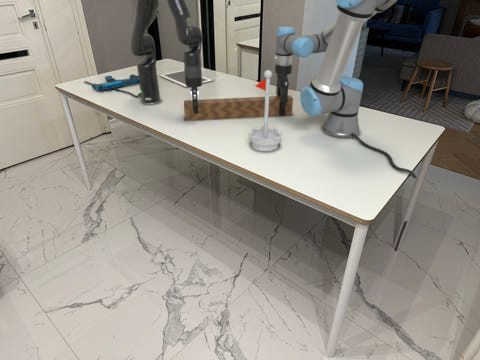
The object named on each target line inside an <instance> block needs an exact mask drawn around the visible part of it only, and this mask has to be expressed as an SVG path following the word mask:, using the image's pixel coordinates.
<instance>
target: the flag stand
mask: <svg viewBox="0 0 480 360" xmlns="http://www.w3.org/2000/svg"><path fill="white" fill-rule="evenodd" d="M263 77H264V79H263V80H262V81H260V82H259V83H257V84H255V85H254V87H256V88H258V89H260V90H264V97H265V111H264V118H263V125H262V126H261V128H259V127H253V128H251V131H249V133H248V139H249V141H250V142H251V147H252V148H253V150H257V151H259V152H260V151H261V152H272V151H275V150H277V149H278V148H279V145H280V144H279V143H280V142H281V141H282V137H283V133H282V131H279V128H277V127H272V129H271V128H269V116H268V110H269V96H270V88H271V87H270V85H271V78H272V77H273V72H272V71H271V70H270V69H267V70H265V71H264V73H263Z"/></svg>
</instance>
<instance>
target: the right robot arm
mask: <svg viewBox="0 0 480 360" xmlns="http://www.w3.org/2000/svg"><path fill="white" fill-rule="evenodd" d="M397 1H398V0H335V2H336V4H337V5H336V10H337V12H338V16H337V19H335V20H334V21H333V22H332V23H331V24H330V25H328V27H326V28H324V30H323V31H321V32H320V33H315V34H314V33H313V34H304V35H298V34H296V32H295V27H293V26H279V27H278V28H277V33H276V43H275V45H276V46H275V50H276V51H275V56H274V60H275V66H274V73H275V74H276V88H275V95H276V96H281V102H279V103H280V108H279V116H278V117H282V115H285V107H286V103H287V99H288V96H289V86H290V85H289V84H290V82H289V78H288V75H291V74H292V71H293V62H294V61H293V59H294V56H296V57H299V58H308V57H309V56H310V55H313V54H320V53H321V54H322V53H324V56H323V58H322V61H321V64H320V67H319V70H318V73H317V74H316V75H315V76H313V77H312V78H311V81H310V84H309V86H304V87H303V88H302V90H301V91H300V95H299V96H300V97H299V100H300V104H301V107H302V110H303V111H304V112H305V113H306V114H307V115H308V116H310V117H316V116H321V115H325V114H328V115H327V117H326V120H325V121H324V123H323V126H322V130H323V132H324V133H325V134H326V135H329V136H332V137H335V138H339V139H341V138H342V139H349V138H354V139H356V140H357V141H358V142H359V143H360V144H362V146H364V147H365V148H367V149H370V150H373V151H376V152H379V153H381V154H383V155H385V156H386V157H387V158H388V161H389V163H390V165H391V166H392V167H393V168H394V169H395V170H397V171H400V172H405V173H408V174H409V175H411V176H412V178H413V179H415V180H416V179H417V175H416V174H415V173H414V172H413V171H412V170H411V169H408V168H403V167H400V166H397V165H396V164H395V162H394V160H393V158H392V156H391V155H390V154H389V153H388V152H386V151H385V150H383V149H380V148H377V147H374V146H373V145H369V144H368V143H366V142H365V141H363V140H362V139H361V138H360V137H359V136H357V135H359V132H360V125H359V118H358V117H359V116H358V114H359V111H360V110H359V109H360V105H361V101H362V96H363V92H364V91H363V89H364V82H363V81H362V80H361V79H359V78H356V77H353V76H346V75H343V74H344V72H345V69H346V66H347V65H348V62H349V60H350V57H351V55H352V52H353V50H354V47H355V45H356V43H357V40H358V38H359V35H360V33H361V31H362V28H363V26H364V23H366V21H368V20H370V19H371V18H372V17H374V16H375V15H377V13H378V14H379V13H383V12H385V11H387V10H388V9H389V8H390V7H392V6H393V5H394V4H395V3H397ZM407 224H408V220H405V221H404V222H403V224H402V226H401V230H400V232H399V234H398V237H397V239H396V240H397V241H396V242H395V243H396V244H395V246H394V250H393V251H394V252H398V249H399V245H400V243H401V240H402V237H403V234H404V232H405V230H406V226H407Z"/></svg>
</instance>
